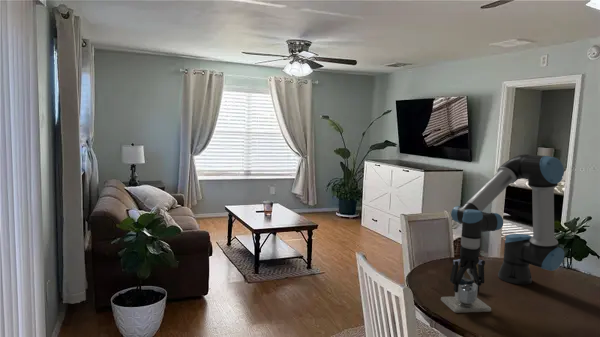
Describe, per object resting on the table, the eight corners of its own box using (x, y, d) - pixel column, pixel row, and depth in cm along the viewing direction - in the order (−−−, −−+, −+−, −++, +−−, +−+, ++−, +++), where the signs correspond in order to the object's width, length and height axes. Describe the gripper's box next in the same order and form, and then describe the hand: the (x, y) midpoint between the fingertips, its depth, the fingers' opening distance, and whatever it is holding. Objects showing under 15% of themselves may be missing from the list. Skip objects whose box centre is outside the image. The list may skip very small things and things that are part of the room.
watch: (469, 290, 193) (471, 267, 192) (455, 284, 200) (457, 262, 199) (477, 288, 196) (479, 266, 195) (462, 282, 203) (464, 261, 201)
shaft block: (474, 299, 183) (476, 279, 182) (490, 311, 172) (492, 290, 171) (440, 300, 181) (442, 280, 180) (454, 312, 169) (456, 291, 168)
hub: (468, 295, 180) (469, 284, 179) (477, 302, 173) (478, 291, 173) (453, 296, 179) (454, 285, 178) (462, 303, 172) (463, 291, 172)
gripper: (486, 243, 179) (482, 294, 181) (443, 244, 176) (439, 295, 178) (497, 249, 171) (492, 302, 174) (452, 249, 168) (448, 303, 171)
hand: (465, 298), depth 176 cm, fingers closed on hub, 7 cm apart
